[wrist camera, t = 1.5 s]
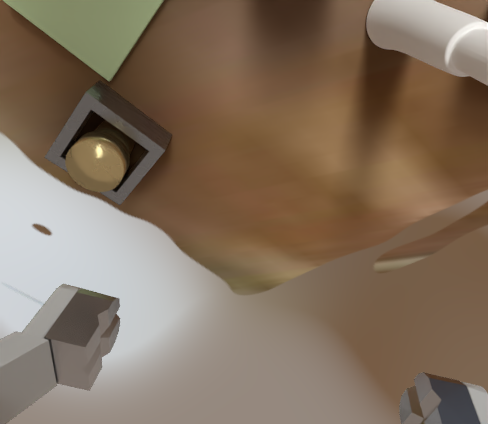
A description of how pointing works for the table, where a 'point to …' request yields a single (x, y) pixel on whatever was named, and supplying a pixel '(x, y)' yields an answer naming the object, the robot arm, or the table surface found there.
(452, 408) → the robot arm
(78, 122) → the box
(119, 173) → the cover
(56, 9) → the pad
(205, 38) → the table surface
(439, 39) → the cosmetic bottle
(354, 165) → the table surface
